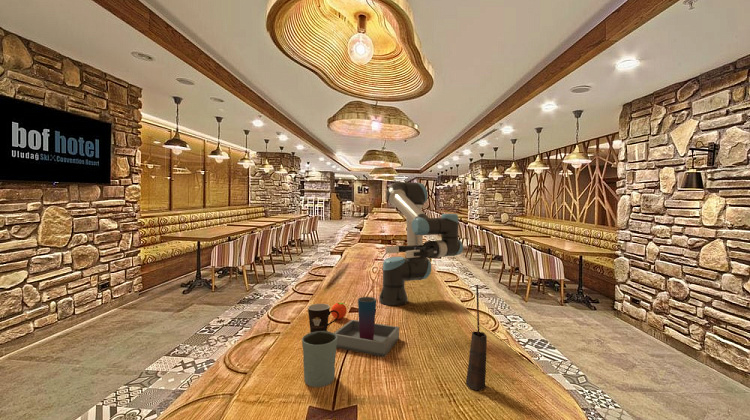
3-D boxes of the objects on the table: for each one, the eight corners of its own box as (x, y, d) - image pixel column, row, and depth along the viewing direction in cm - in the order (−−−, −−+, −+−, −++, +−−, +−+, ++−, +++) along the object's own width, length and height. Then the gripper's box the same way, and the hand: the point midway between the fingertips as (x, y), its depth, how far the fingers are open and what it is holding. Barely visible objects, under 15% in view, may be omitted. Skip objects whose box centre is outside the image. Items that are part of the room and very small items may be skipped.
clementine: (346, 315, 144) (347, 299, 144) (350, 320, 138) (350, 304, 138) (329, 316, 142) (329, 301, 142) (332, 322, 135) (332, 305, 135)
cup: (367, 334, 119) (367, 295, 119) (379, 340, 115) (380, 299, 115) (353, 339, 115) (354, 299, 115) (366, 345, 110) (366, 303, 110)
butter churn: (500, 399, 81) (501, 292, 81) (462, 395, 83) (463, 290, 82) (492, 380, 90) (494, 284, 90) (458, 377, 92) (460, 282, 92)
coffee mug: (303, 333, 122) (303, 308, 122) (316, 326, 130) (317, 302, 130) (327, 339, 117) (327, 313, 117) (340, 331, 125) (340, 306, 125)
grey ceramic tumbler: (305, 392, 84) (305, 347, 83) (298, 373, 93) (298, 333, 93) (341, 383, 88) (342, 341, 88) (331, 366, 97) (331, 328, 97)
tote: (351, 330, 126) (351, 319, 126) (398, 338, 118) (399, 327, 118) (331, 346, 111) (331, 334, 111) (384, 357, 103) (384, 343, 103)
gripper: (455, 261, 127) (415, 266, 116) (415, 253, 148) (378, 257, 136) (455, 243, 127) (416, 246, 116) (415, 238, 148) (378, 240, 136)
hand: (395, 252), depth 126 cm, fingers open, 13 cm apart
